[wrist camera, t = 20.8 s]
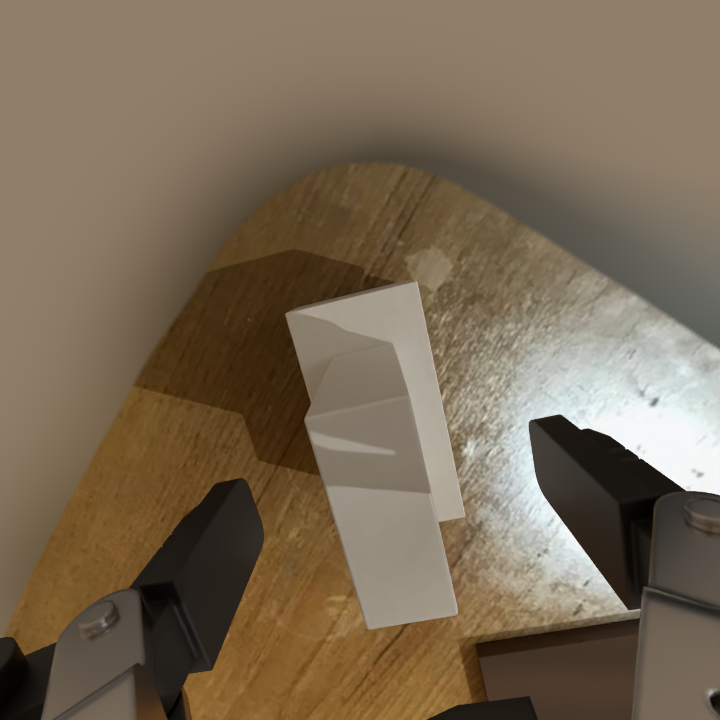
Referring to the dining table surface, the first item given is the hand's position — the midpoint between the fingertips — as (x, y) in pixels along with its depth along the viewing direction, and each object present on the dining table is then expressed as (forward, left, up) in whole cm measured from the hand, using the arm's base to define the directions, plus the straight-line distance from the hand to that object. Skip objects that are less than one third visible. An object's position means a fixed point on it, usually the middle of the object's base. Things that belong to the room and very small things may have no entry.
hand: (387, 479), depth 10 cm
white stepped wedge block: (0, 0, -8) cm, 8 cm away
